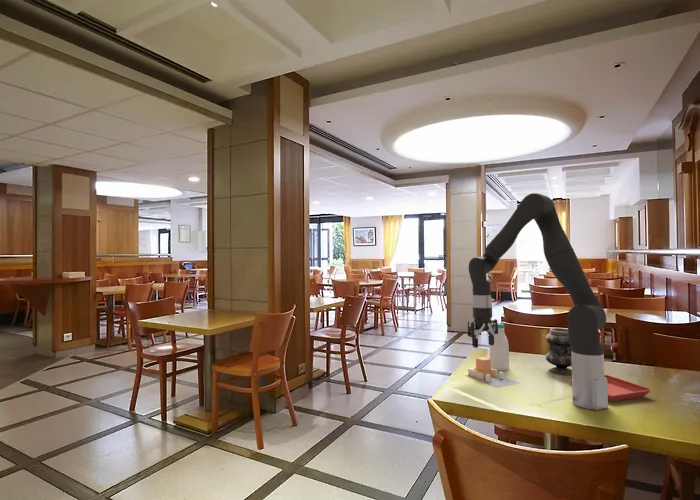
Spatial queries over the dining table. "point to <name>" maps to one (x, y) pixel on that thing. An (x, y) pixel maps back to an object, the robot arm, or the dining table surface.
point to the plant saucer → (623, 389)
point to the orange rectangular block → (483, 365)
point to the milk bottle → (500, 350)
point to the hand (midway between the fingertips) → (483, 346)
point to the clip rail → (494, 379)
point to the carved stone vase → (559, 351)
